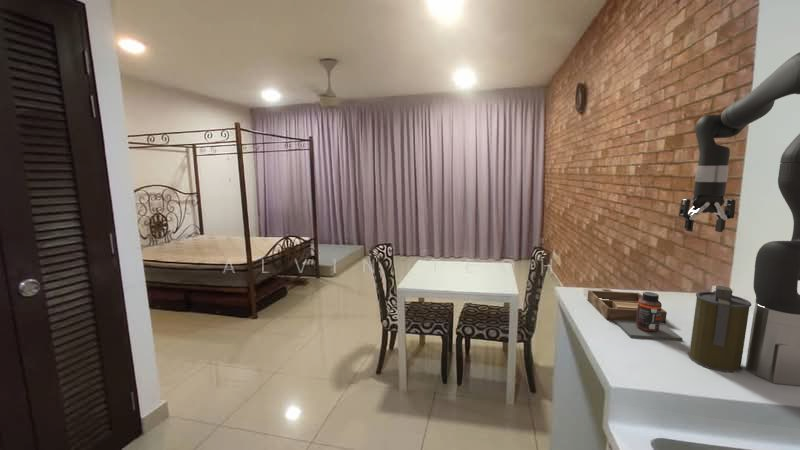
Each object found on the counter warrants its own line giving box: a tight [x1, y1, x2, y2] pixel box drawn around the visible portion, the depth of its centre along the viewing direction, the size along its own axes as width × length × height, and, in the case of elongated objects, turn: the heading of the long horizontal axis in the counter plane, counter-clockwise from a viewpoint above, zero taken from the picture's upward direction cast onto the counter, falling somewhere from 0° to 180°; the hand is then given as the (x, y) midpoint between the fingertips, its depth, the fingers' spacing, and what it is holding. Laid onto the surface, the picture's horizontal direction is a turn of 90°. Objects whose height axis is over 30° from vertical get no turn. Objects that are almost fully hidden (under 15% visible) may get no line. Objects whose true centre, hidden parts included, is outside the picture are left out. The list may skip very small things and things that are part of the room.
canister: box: [687, 285, 752, 373], centre depth 90 cm, size 11×10×20 cm
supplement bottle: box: [636, 291, 662, 332], centre depth 108 cm, size 6×6×11 cm
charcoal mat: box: [614, 320, 683, 342], centre depth 109 cm, size 11×14×1 cm
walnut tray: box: [587, 290, 668, 325], centre depth 124 cm, size 18×18×4 cm
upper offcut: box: [612, 302, 638, 309], centre depth 119 cm, size 5×10×2 cm, turn 75°
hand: (703, 231), depth 112 cm, fingers open, 8 cm apart
